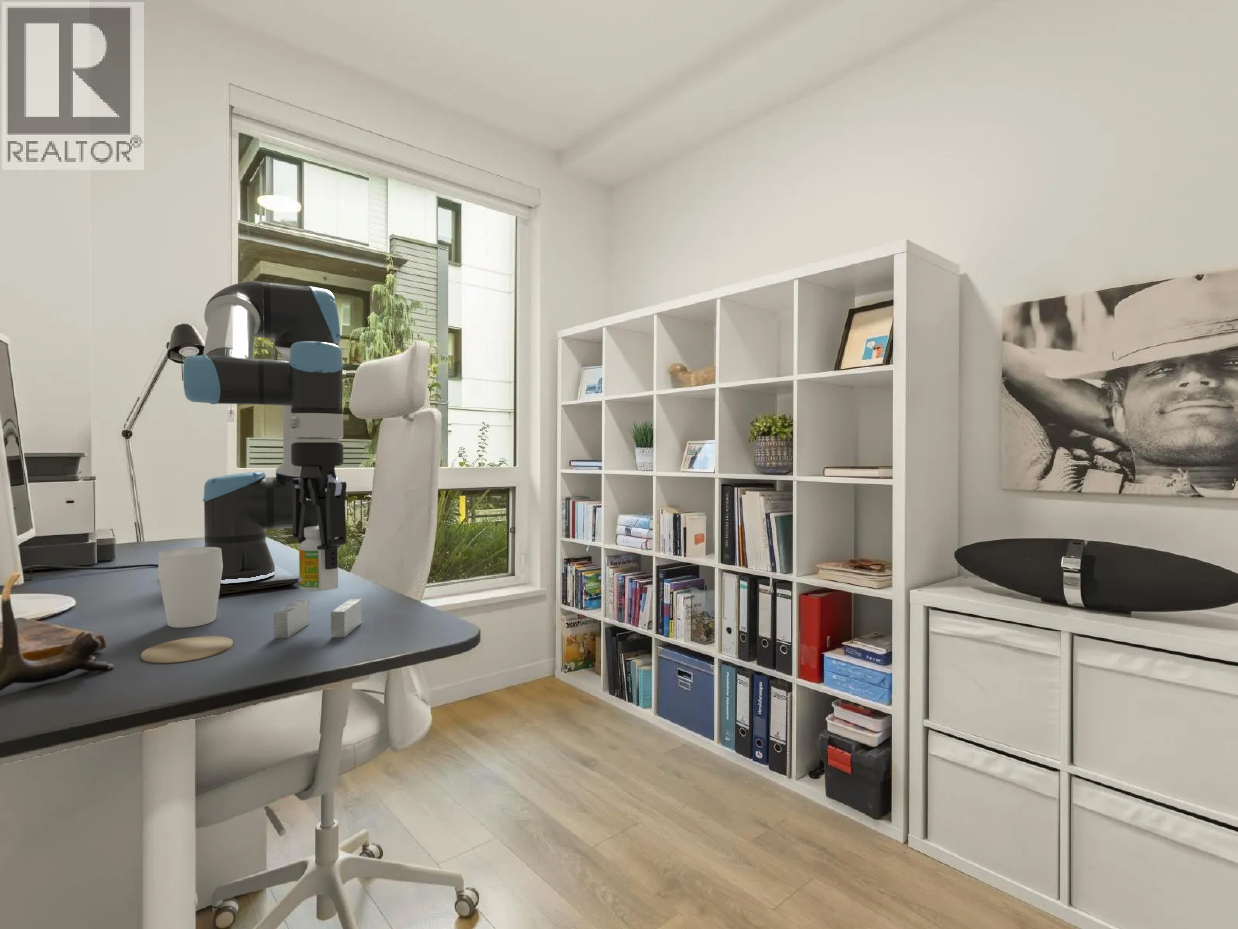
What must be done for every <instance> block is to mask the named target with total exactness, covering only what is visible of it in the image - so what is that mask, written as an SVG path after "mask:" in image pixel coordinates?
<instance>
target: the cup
mask: <svg viewBox="0 0 1238 929" xmlns="http://www.w3.org/2000/svg"><path fill="white" fill-rule="evenodd" d="M222 569H223V562H222V552H221V548H218V547H204V546H195V547H181V548H174V549H168V550H167V549H166V550H163V551H160V552H159V553H158V566H157V576H158V580H159V585H160V590H161V597H162V600H163V606H164V612H165V618H166V623H167V626H168V627H171V628H177V629H182V628H183V629H186V628H194V627H200V626H204V625H207V624H210V623H212V622H214V621H216V619H217V618H216V617H217V611H218V603H219V597H220V591H221V590H220V589H221V585H220V584H221V577H222Z"/></svg>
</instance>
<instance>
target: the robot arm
mask: <svg viewBox="0 0 1238 929" xmlns="http://www.w3.org/2000/svg"><path fill="white" fill-rule="evenodd" d="M203 316H204V317H203V318H204V322H205V325H206V327H207V332H206V336H205V337H206V338H205V342H204V348H203V351H202V352H203V354H201V355H188V356H186V357H185V358H184V360H183V365H182V368H183V369H182V370H183V371H182V372H183V374H182V381H183V391H184V396H185V397H186V399H187V400H188V401H190V402H192V403H202V404H203V403H206V404H211V405H217V404H219V405H222V404H223V405H265V406H282V443H283V445H282V450H283V452H282V453H283V454H282V455H283V456H282V457H283V459H282V463H281V464H280V465H279V466H278V467H277V468H276V469H275V477H274V476H273V477H266V473H265V472H264V471H262V470H261V471H258V470H257V471H249V472H248V471H247V472H241V473H235V474H227V475H221V476H216V477H211V478H208V479H207V480H206V482H205V484H204V486H203V487H204V488H203V489H204V490H203V498H202V502H203V504H204V506H203V508H204V509H203V510H204V514H203V515H204V516H203V517H204V518H203V519H204V524H203V525H204V546H203V547H218V548H221V552H222V562H223V569H222V577H221V580H225V579H238V578H251V577H256V576H260V575H267V574H269V573H272V572H274V571H275V572H276V564H275V561H274V560H273V557H272V556H273V555H271V551H270V548H269V547H268V544H267V535H266V530H272V529H273V530H274V529H292V538H293V539H297V543H298V544H299V545H300V544H301V543H302V542H303V541H305V540H306V537H304V528H305V527H310V526H319V532H320V539H321V545H320V546H317V549H318V561H319V591H318V592H323V591H324V592H325V591H329V590H334V589H338V588H339V562H338V560H339V555H338V551H339V550H338V549H339V548H340V546H342V545H346V544H347V526H346V525H347V524H346V522H347V521H346V492H347V482H346V481H343V480H342V481H340V479H339V477H338V476H337V475H336V470H335V467H340V466H342V465H343V464H344V444H342V443H343V442H340V440H343V438H344V413H343V412H344V411H343V369H344V363H343V355H342V354H343V352H342V348H341V347H340V346H339V345H337V344H338V343H340V342H341V328H340V327H341V326H340V318H339V310H338V307H337V301H336V298H335V296H334V294H333V292H331V291H330V290H328V289H325V288H320V287H315V286H312V285H311V286H310V285H308V286H307V285H305V286H304V285H297V284H289V283H288V284H286V283H285V284H284V283H276V282H266V281H259V280H251V281H250V280H248V281H242V282H238V283H235V284H232V285H229V286H226V287H224V288H222V289H220V290H219V291H217V292H216V293H215V294H213V296H212V297H210V298H209V300H208V301H207V303H206V305H205V309H204V315H203ZM255 338H264V339H273V340H274V341H273V342H274V349H276V351H278V353H280V354H281V357H282V358H281V360H279V359H262V358H261V359H260V358H254V357H255V356H254V354H255Z"/></svg>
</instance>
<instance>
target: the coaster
mask: <svg viewBox="0 0 1238 929" xmlns="http://www.w3.org/2000/svg"><path fill="white" fill-rule="evenodd" d="M233 642H234V641H233V639H231V638H229V637H227V636H220V635H219V636H217V635H216V636H215V635H205V636H193V637H186V638H179V639H174V640H170V641H166V642H162V643H159V644H158V643H157V644H156V645H153V646H150V647H148V648H146V649H145V650H143V651H142V652H141V654H140V658H141V660H142V661H143V662H146V663H151V664H174V663H184V662H190V661H196V660H200V659H201V660H202V659H206V658H209V657H212V656H217V655H219V654H221V653H224V652H226V651H227V650H229V649H231V648H232V647H233V646H234V645H233V644H234V643H233Z"/></svg>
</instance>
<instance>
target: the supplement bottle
mask: <svg viewBox="0 0 1238 929" xmlns="http://www.w3.org/2000/svg"><path fill="white" fill-rule="evenodd" d="M304 537H306V540H305V541H303V542H302V543H301V544H299V548H298V549H299V550H298V559H299V560H298V562H299V563H298V564H299V566H298V568H299V573H298V574H299V582H298V583H299V589H300V590H302V591H304V592H305V591H306V592H320V591H319V561H318V549H317V546H320V545H321V539H320V532H319V526H310V527H305V528H304Z"/></svg>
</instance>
